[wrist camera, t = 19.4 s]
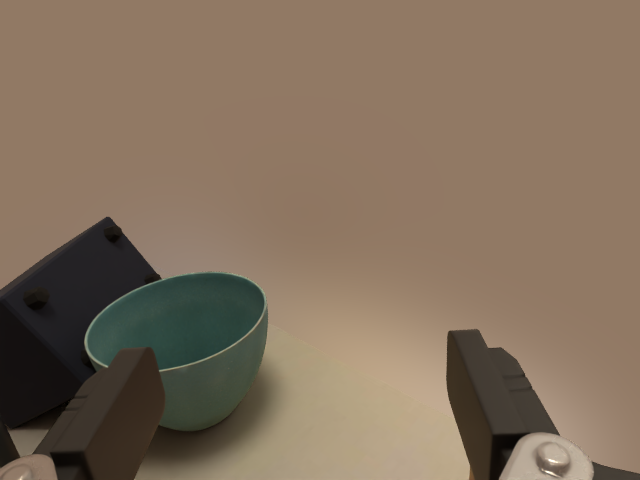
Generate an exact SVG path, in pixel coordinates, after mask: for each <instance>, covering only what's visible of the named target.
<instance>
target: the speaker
mask: <svg viewBox="0 0 640 480" xmlns="http://www.w3.org/2000/svg"><path fill="white" fill-rule="evenodd" d="M159 280H162V279H161V277H160V275H159V274H157V273H156V272H155V271H154V270H153V268H152V267H151V266H150V265H149V264H148V262H147V261H146V260H145V259H144V258H143V256H142V255H141V254H140V253H139V252H138V250H137V249H136V248H135V247H134V246H133V245H132V243H131V242H130V241H129V240H128V238H127V237H126V236H125V235H124V234H123V233H122V230H121V228H119V227H118V226H117V225H116V224H115V223H114V222H113V220H112V219H111V218H110V217H106V218H104V219H103V220H101V221H100V222H98V223H96V224H95V225H93V226H92V227H90V228H89V229H87V230H86V231H84V232H83V233H81V234H79V235H78V236H76V237H75V238H74V239H72V240H70V241H69V242H68V243H66V244H64V245H63V246H61V247H60V248H58V249H56V250H55V251H53V252H52V253H50V254H49V255H47V256H46V257H44V258H43V259H42V260H40V261H39V262H38V263H36V264H35V265H33V266H32V267H31V268H29V269H28V270H27V271H25V272H24V273H23V274H21V275H20V276H19V277H17V278H16V279H14V280H13V281H12V282H10V283H9V284H8V285H6V286H5V287H4V288H2V289H1V290H0V415H1V418H2V420H3V422H4V424H6V425H7V426H8V427H9V428H10V429H11V428H15V427H17V426H19V425H21V424H23V423H25V422H27V421H29V420H31V419H33V418H35V417H37V416H39V415H41V414H43V413H45V412H47V411H49V410H51V409H52V408H54V407H56V406H58V405H60V404H62V403H64V402H66V401H68V400H70V399H72V398H74V396H75V394H76V393H77V392H78V390H79V389H80V388H81V386H82V385H83V383H84V382H85V381H86V380H87V379H89V378H90V377H91V376H92V375H94V374H95V373H96V372H97V371H96V370H95V368H94V366H93V364H92V363H91V361H90V359H89V356H88V354H87V351H86V349H85V344H84V341H85V335H86V332H87V330H88V327H89V326H90V324H91V323H92V321H93V320H94V319H95V318H96V316H97V315H98V314H99V313H100V312H101V311H103V310H104V309H105V308H106V307H107V306H108V305H110V304H111V303H113V302H114V301H116V300H117V299H119V298H120V297H122V296H124V295H126V294H127V293H129V292H131V291H133V290H135V289H137V288H140V287H142V286H145V285H147V284H150V283H153V282H156V281H159Z"/></svg>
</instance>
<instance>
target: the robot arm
mask: <svg viewBox="0 0 640 480" xmlns="http://www.w3.org/2000/svg"><path fill="white" fill-rule="evenodd" d="M447 339H448V341H447V375H446V377H447V378H446V380H447V391H448V397H449V401H450V404H451V407H452V410H453V414H454V417H455V420H456V423H457V426H458V429H459V432H460V435H461V439H462V442H463V445H464V448H465V451H466V454H467V457H468V460H469V463H470V467H471V470H472V473H473V476H474V479H475V480H640V474H638V473H634V472H629V471H625V470H620V469H615V468H611V467H607V466H603V465H600V464H597V463H595V462H592V461H591V460H590V459H589V457H588V456H587V454H586V453H585V452H584V451H583V450H582V449H581V448H580V447H579V446H577V445H576V444H575V443H573V442H572V441H570V440H568V439H566V438H564V437H561V436H560V434H559V433H558V431H557V429H556V427H555V426H554V424H553V422H552V420H551V419H550V417H549V415H548V413H547V412H546V410H545V408H544V406H543V405H542V403H541V401H540V400H539V398H538V396H537V394H536V393H535V391H534V390H533V389H532V386H531V384H530V382H529V381H528V379H527V378H526V377H525V373H524V372H523V370H522V368H521V367H520V365H519V363H518V361H517V360H516V359H515V358H514V357H513V356H511V355H510V354H509V353H507V352H506V351H505V350H504V349H502V348H488V347H487V345H486V343H485V341H484V339H483V337H482V335H481V333H480V331H479V330H477V329H474V330H456V331H449V332H448V338H447ZM164 409H165V390H164V386H163V383H162V379H161V375H160V371H159V368H158V364H157V360H156V357H155V353H154V351H153V349H152V348H151V347H137V348H122V349H121V350H119V352H118V353H117V354H116V356H115V357H114V359H113V360H112V362H111V363H110V365H109V366H108V368H101V369H100V370H99V371H97V372H96V373H95V374H94V375H92V376H91V377H90V378H89V379H87V380H86V381H85V382H84V383H83V385H82V386H81V388H80V389H79V390H78V392H77V393H76V394H75V396H74V399H72V400H71V401H70V403H69V404H68V405H67V407H66V410H65V411H63V412H62V414H61V415H60V416H59V418H58V419H57V421H56V422H55V423H54V425H53V426H52V428H51V429H50V430H49V432H48V433H47V434H46V436H45V437H44V439H43V440H42V441H41V443H40V444H39V445H38V447H37V448H36V450H35V451H34V452H33V454H32V455H28V456H24V457H21V458H20V456H19V454H18V451H17V449H16V447H15V445H14V443H13V441H12V439H11V437H10V434H9V432H8V430H7V428H6V426H5V424H4V422H3V420H2V418H1V415H0V480H134V478H135V475H136V473H137V471H138V469H139V467H140V464H141V462H142V460H143V458H144V455H145V453H146V451H147V449H148V447H149V444H150V442H151V440H152V438H153V436H154V433H155V431H156V429H157V427H158V425H159V422H160V420H161V418H162V416H163V413H164Z"/></svg>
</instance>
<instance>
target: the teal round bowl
mask: <svg viewBox="0 0 640 480" xmlns="http://www.w3.org/2000/svg"><path fill="white" fill-rule="evenodd" d="M267 327H268V310H267V300H266V295H265V293H264V291H263V290H262V288H261V287H260V286H259V285H258V284H257V283H255V282H254V281H252V280H250V279H248V278H246V277H243V276H240V275H237V274H232V273H226V272H197V273H188V274H182V275H177V276H172V277H169V278H165V279H162V280H159V281H156V282H153V283H150V284H147V285H145V286H142V287H140V288H137V289H135V290H133V291H131V292H129V293H127V294H126V295H124V296H122V297H120V298H119V299H117V300H116V301H114V302H113V303H111V304H110V305H108V306H107V307H106V308H105V309H104V310H103V311H101V312H100V313H99V314H98V315H97V316H96V318H95V319H94V320H93V321H92V323H91V324H90V326H89V327H88V330H87V332H86V335H85V341H84V344H85V349H86V351H87V354H88V356H89V359H90V361H91V363H92V364H93V366H94V368H95V370H96V371H99V370H100V369H101V368H108V366H109V365H110V363H111V362H112V360H113V359H114V357H115V356H116V354H117V353H118V352H119V350H121V349H122V348H137V347H151V348H152V349H153V351H154V353H155V357H156V360H157V364H158V368H159V371H160V375H161V379H162V383H163V386H164V390H165V409H164V413H163V416H162V418H161V420H160V422H159V425H160V426H163V427H167V428H170V429H174V430H178V431H197V430H202V429H205V428H208V427H211V426H213V425H215V424H217V423H219V422H220V421H222V420H223V419H225V418H226V417H227V416H228V415H229V414H231V412H232V411H233V410H234V409H235V408H236V407H237V406H238V404H239V403H240V402H241V401H242V399H243V398H244V396H245V395H246V393H247V392H248V390H249V389H250V387H251V385H252V383H253V381H254V379H255V377H256V375H257V373H258V370H259V367H260V364H261V361H262V357H263V354H264V349H265V344H266V337H267Z"/></svg>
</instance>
